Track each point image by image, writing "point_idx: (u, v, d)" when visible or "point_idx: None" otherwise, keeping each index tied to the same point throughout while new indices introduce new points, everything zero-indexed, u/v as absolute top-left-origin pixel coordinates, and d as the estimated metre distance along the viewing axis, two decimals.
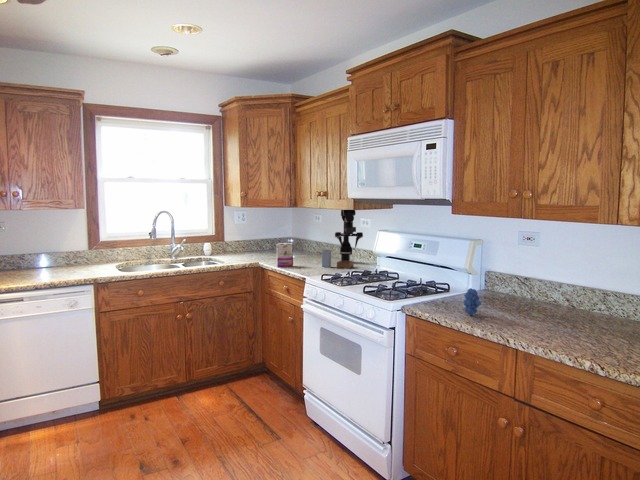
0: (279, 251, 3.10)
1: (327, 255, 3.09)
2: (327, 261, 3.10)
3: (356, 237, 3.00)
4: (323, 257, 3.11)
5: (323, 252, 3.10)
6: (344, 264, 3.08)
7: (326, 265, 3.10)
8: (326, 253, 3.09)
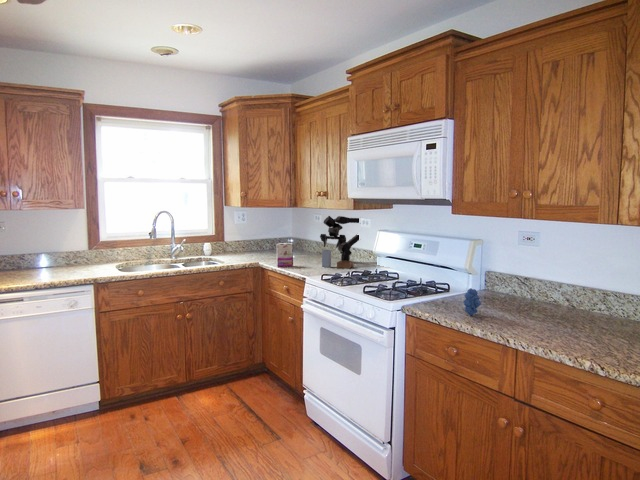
0: (279, 251, 3.10)
1: (327, 255, 3.09)
2: (327, 261, 3.10)
3: None
4: (323, 257, 3.11)
5: (323, 252, 3.10)
6: (344, 264, 3.08)
7: (326, 265, 3.10)
8: (326, 253, 3.09)
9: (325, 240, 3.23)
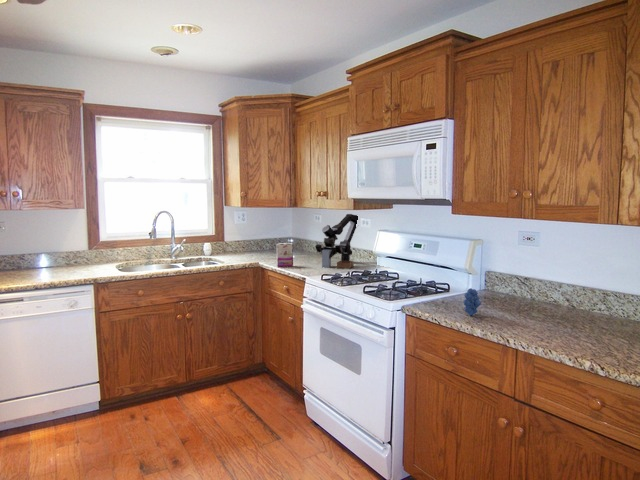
0: (279, 251, 3.10)
1: (327, 255, 3.09)
2: (327, 261, 3.10)
3: (332, 249, 3.13)
4: (323, 257, 3.11)
5: (323, 252, 3.10)
6: (344, 264, 3.08)
7: (326, 265, 3.10)
8: (326, 253, 3.09)
9: None
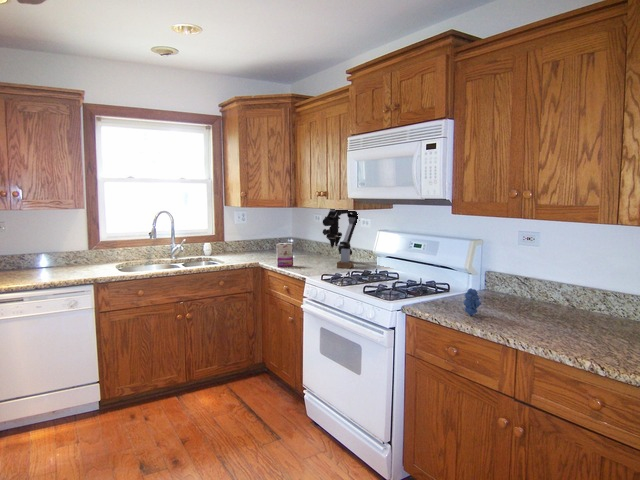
0: (279, 251, 3.10)
1: (346, 254, 3.09)
2: (346, 260, 3.09)
3: None
4: (342, 256, 3.10)
5: (342, 251, 3.09)
6: (344, 264, 3.08)
7: None
8: (345, 251, 3.09)
9: (335, 239, 3.28)
